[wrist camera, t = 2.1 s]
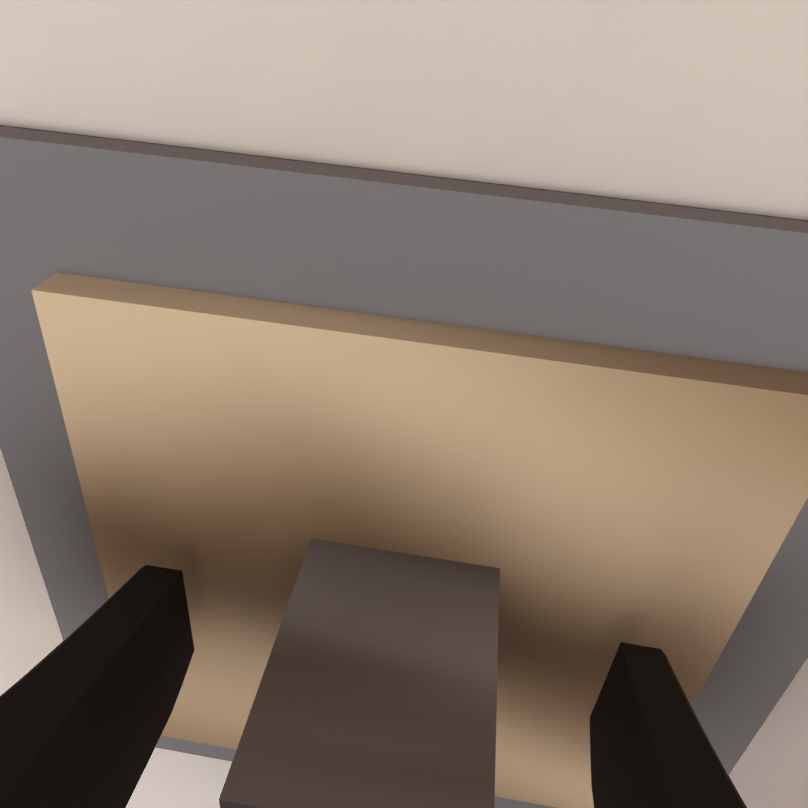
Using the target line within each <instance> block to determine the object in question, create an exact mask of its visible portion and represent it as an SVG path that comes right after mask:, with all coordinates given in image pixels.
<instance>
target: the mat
mask: <svg viewBox="0 0 808 808" xmlns="http://www.w3.org/2000/svg"><path fill="white" fill-rule="evenodd" d="M57 272H58V273H65V274H73V275H80V276H88V277H95V278H103V279H110V280H118V281H125V282H133V283H140V284H148V285H155V286H163V287H170V288H178V289H185V290H193V291H200V292H208V293H215V294H223V295H230V296H238V297H245V298H253V299H260V300H268V301H275V302H283V303H290V304H298V305H305V306H313V307H320V308H328V309H335V310H343V311H350V312H358V313H365V314H373V315H380V316H388V317H395V318H403V319H410V320H418V321H425V322H433V323H440V324H448V325H455V326H463V327H470V328H478V329H485V330H493V331H500V332H508V333H515V334H523V335H531V336H538V337H546V338H553V339H561V340H568V341H576V342H583V343H591V344H598V345H606V346H613V347H621V348H628V349H636V350H643V351H651V352H658V353H666V354H673V355H681V356H688V357H696V358H703V359H711V360H718V361H726V362H733V363H741V364H748V365H756V366H763V367H771V368H778V369H786V370H793V371H801V372H808V221H802V220H794V219H785V218H777V217H768V216H760V215H751V214H743V213H734V212H726V211H717V210H709V209H700V208H692V207H684V206H675V205H667V204H658V203H650V202H641V201H633V200H624V199H616V198H607V197H599V196H590V195H582V194H573V193H565V192H557V191H548V190H540V189H531V188H523V187H514V186H506V185H497V184H489V183H480V182H472V181H463V180H455V179H446V178H438V177H429V176H421V175H413V174H404V173H396V172H387V171H379V170H370V169H362V168H353V167H345V166H336V165H328V164H319V163H311V162H302V161H294V160H286V159H277V158H269V157H260V156H252V155H243V154H235V153H226V152H218V151H209V150H201V149H192V148H184V147H175V146H167V145H159V144H150V143H142V142H133V141H125V140H116V139H108V138H99V137H91V136H82V135H74V134H65V133H57V132H48V131H40V130H31V129H23V128H15V127H6V126H0V447H1V450H2V453H3V457H4V460H5V463H6V466H7V469H8V472H9V475H10V478H11V481H12V484H13V487H14V490H15V493H16V496H17V499H18V502H19V506H20V509H21V512H22V515H23V518H24V521H25V524H26V527H27V530H28V533H29V536H30V539H31V542H32V545H33V548H34V551H35V555H36V558H37V561H38V564H39V567H40V570H41V573H42V576H43V579H44V582H45V585H46V588H47V591H48V594H49V597H50V600H51V604H52V607H53V610H54V613H55V616H56V619H57V622H58V625H59V628H60V631H61V634H62V637H63V640H65V639H66V638H67V637H69V636H70V635H71V634H72V633H73V632H74V631H75V630H76V629H77V628H78V627H79V626H80V625H81V624H83V623H84V622H85V621H86V620H87V619H88V618H89V617H90V616H91V615H92V614H93V613H94V612H95V611H96V610H98V609H99V608H100V607H101V606H102V605H103V604H104V603H105V602H106V601H107V600H108V599H109V596H108V592H107V588H106V584H105V580H104V577H103V573H102V569H101V565H100V561H99V557H98V553H97V549H96V545H95V541H94V537H93V533H92V529H91V525H90V521H89V517H88V513H87V509H86V505H85V501H84V497H83V493H82V489H81V485H80V481H79V477H78V473H77V470H76V466H75V462H74V458H73V454H72V450H71V446H70V442H69V438H68V434H67V430H66V426H65V422H64V418H63V414H62V410H61V406H60V402H59V398H58V394H57V390H56V386H55V382H54V378H53V374H52V370H51V366H50V362H49V359H48V355H47V351H46V347H45V343H44V339H43V335H42V331H41V327H40V323H39V319H38V315H37V311H36V307H35V303H34V299H33V295H32V291H31V290H32V289H33V288H35V287H36V286H38V285H39V284H41V283H42V282H44V281H45V280H47V279H48V278H50V277H51V276H52V275H54V274H55V273H57ZM807 658H808V498H807V500H806V501H805V503H804V505H803V507H802V509H801V510H800V512H799V514H798V516H797V518H796V519H795V521H794V523H793V525H792V527H791V528H790V530H789V532H788V534H787V536H786V538H785V539H784V541H783V543H782V545H781V547H780V548H779V550H778V552H777V554H776V556H775V557H774V559H773V561H772V563H771V565H770V566H769V568H768V570H767V572H766V574H765V575H764V577H763V579H762V581H761V583H760V584H759V586H758V588H757V590H756V592H755V593H754V595H753V597H752V599H751V601H750V602H749V604H748V606H747V608H746V610H745V611H744V613H743V615H742V617H741V619H740V620H739V622H738V624H737V626H736V628H735V629H734V631H733V633H732V635H731V637H730V638H729V640H728V642H727V644H726V646H725V648H724V649H723V651H722V653H721V655H720V657H719V658H718V660H717V662H716V664H715V666H714V667H713V669H712V671H711V673H710V675H709V676H708V678H707V680H706V682H705V684H704V685H703V687H702V689H701V691H700V693H699V694H698V696H697V698H696V700H695V702H694V703H693V705H692V709H693V711H694V713H695V715H696V717H697V718H698V720H699V722H700V724H701V726H702V728H703V730H704V732H705V734H706V735H707V737H708V739H709V741H710V743H711V745H712V747H713V749H714V750H715V752H716V754H717V756H718V758H719V760H720V761H721V763H722V765H723V767H724V769H725V770H726V772H727V774H728V775H729V773H730V772H731V770H732V769H733V767H734V766H735V764H736V763H737V761H738V760H739V758H740V757H741V755H742V754H743V752H744V751H745V749H746V748H747V746H748V745H749V744H750V742H751V741H752V739H753V738H754V736H755V735H756V733H757V732H758V730H759V729H760V727H761V726H762V724H763V723H764V721H765V720H766V718H767V717H768V715H769V714H770V712H771V711H772V709H773V708H774V706H775V705H776V703H777V702H778V701H779V699H780V698H781V696H782V695H783V693H784V692H785V690H786V689H787V687H788V686H789V684H790V683H791V681H792V680H793V678H794V677H795V675H796V674H797V672H798V671H799V669H800V668H801V666H802V665H803V663H804V662H805V661H806V659H807ZM155 747H157V748H162V749H168V750H173V751H178V752H184V753H189V754H195V755H200V756H206V757H211V758H217V759H222V760H228V761H233V759H234V756H235V753H236V750H237V749H231V748H226V747H220V746H215V745H209V744H204V743H198V742H193V741H187V740H182V739H176V738H171V737H165V736H160V738H159V740H158V742H157V744H156V746H155ZM494 808H557V807H551V806H546V805H540V804H534V803H529V802H523V801H518V800H512V799H507V798H501V797H496V796H495V803H494Z"/></svg>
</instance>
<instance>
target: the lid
mask: <svg viewBox="0 0 808 808" xmlns="http://www.w3.org/2000/svg"><path fill="white" fill-rule="evenodd" d="M31 291H32V295H33V299H34V303H35V307H36V311H37V315H38V319H39V323H40V327H41V331H42V335H43V339H44V343H45V347H46V351H47V355H48V359H49V362H50V366H51V370H52V374H53V378H54V382H55V386H56V390H57V394H58V398H59V402H60V406H61V410H62V414H63V418H64V422H65V426H66V430H67V434H68V438H69V442H70V446H71V450H72V454H73V458H74V462H75V466H76V470H77V473H78V477H79V481H80V485H81V489H82V493H83V497H84V501H85V505H86V509H87V513H88V517H89V521H90V525H91V529H92V533H93V537H94V541H95V545H96V549H97V553H98V557H99V561H100V565H101V569H102V573H103V577H104V580H105V584H106V588H107V592H108V596H109V598H110V597H111V596H112V595H113V594H114V593H115V592H116V591H117V590H119V589H120V588H121V587H122V586H123V585H124V584H125V583H126V582H127V581H128V580H129V579H130V578H131V577H132V576H133V575H134V574H135V573H136V572H137V571H138V570H139V569H141V568H142V567H144V566H145V565H151V566H157V567H163V568H169V569H175V570H181V571H182V573H183V579H184V585H185V592H186V598H187V605H188V611H189V618H190V624H191V631H192V637H193V644H194V653H193V655H192V658H191V661H190V664H189V667H188V670H187V673H186V675H185V678H184V681H183V684H182V687H181V689H180V692H179V695H178V697H177V700H176V703H175V705H174V708H173V711H172V713H171V715H170V717H169V719H168V722H167V724H166V726H165V728H164V730H163V732H162V734H161V736H165V737H171V738H176V739H182V740H187V741H193V742H198V743H204V744H209V745H215V746H220V747H226V748H231V749H237V750H236V753H235V756H234V759H233V762H232V764H231V767H230V770H229V773H228V776H227V779H226V782H225V784H224V787H223V790H222V793H221V796H220V799H219V802H220V808H494V803H495V796H496V797H501V798H507V799H512V800H518V801H523V802H529V803H534V804H540V805H546V806H551V807H557V808H594V803H593V795H592V785H591V759H590V715H591V713H592V711H593V708H594V706H595V703H596V701H597V699H598V696H599V694H600V691H601V689H602V686H603V684H604V682H605V679H606V677H607V674H608V672H609V669H610V667H611V665H612V662H613V660H614V657H615V655H616V653H617V650H618V648H619V645H620V643H621V642H622V643H628V644H634V645H640V646H647V647H653V648H659V649H661V650H662V651H663V652H664V653H665V655H666V656H667V659H668V661H669V663H670V665H671V667H672V669H673V671H674V673H675V675H676V677H677V679H678V681H679V683H680V685H681V687H682V689H683V691H684V693H685V695H686V697H687V699H688V701H689V703H690V705H691V707H692V705H693V703H694V702H695V700H696V698H697V696H698V694H699V693H700V691H701V689H702V687H703V685H704V684H705V682H706V680H707V678H708V676H709V675H710V673H711V671H712V669H713V667H714V666H715V664H716V662H717V660H718V658H719V657H720V655H721V653H722V651H723V649H724V648H725V646H726V644H727V642H728V640H729V638H730V637H731V635H732V633H733V631H734V629H735V628H736V626H737V624H738V622H739V620H740V619H741V617H742V615H743V613H744V611H745V610H746V608H747V606H748V604H749V602H750V601H751V599H752V597H753V595H754V593H755V592H756V590H757V588H758V586H759V584H760V583H761V581H762V579H763V577H764V575H765V574H766V572H767V570H768V568H769V566H770V565H771V563H772V561H773V559H774V557H775V556H776V554H777V552H778V550H779V548H780V547H781V545H782V543H783V541H784V539H785V538H786V536H787V534H788V532H789V530H790V528H791V527H792V525H793V523H794V521H795V519H796V518H797V516H798V514H799V512H800V510H801V509H802V507H803V505H804V503H805V501H806V500H807V498H808V372H801V371H793V370H786V369H778V368H771V367H763V366H756V365H748V364H741V363H733V362H726V361H718V360H711V359H703V358H696V357H688V356H681V355H673V354H666V353H658V352H651V351H643V350H636V349H628V348H621V347H613V346H606V345H598V344H591V343H583V342H576V341H568V340H561V339H553V338H546V337H538V336H531V335H523V334H515V333H508V332H500V331H493V330H485V329H478V328H470V327H463V326H455V325H448V324H440V323H433V322H425V321H418V320H410V319H403V318H395V317H388V316H380V315H373V314H365V313H358V312H350V311H343V310H335V309H328V308H320V307H313V306H305V305H298V304H290V303H283V302H275V301H268V300H260V299H253V298H245V297H238V296H230V295H223V294H215V293H208V292H200V291H193V290H185V289H178V288H170V287H163V286H155V285H148V284H140V283H133V282H125V281H118V280H110V279H103V278H95V277H88V276H80V275H73V274H65V273H58V272H57V273H55V274H54V275H52V276H51V277H50V278H48V279H47V280H45V281H44V282H42V283H41V284H39V285H38V286H36V287H35V288H33V289H32V290H31Z"/></svg>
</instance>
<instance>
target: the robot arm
mask: <svg viewBox="0 0 808 808" xmlns="http://www.w3.org/2000/svg"><path fill="white" fill-rule="evenodd" d="M193 653H194V644H193V637H192V631H191V624H190V618H189V611H188V605H187V598H186V592H185V585H184V579H183V573H182V571H181V570H175V569H169V568H163V567H157V566H151V565H145V566H144V567H142V568H141V569H139V570H138V571H137V572H136V573H135V574H134V575H133V576H132V577H131V578H130V579H129V580H128V581H127V582H126V583H125V584H124V585H123V586H122V587H121V588H120V589H119V590H117V591H116V592H115V593H114V594H113V595H112V596H111V597H110V598H109V599H108V600H107V601H106V602H105V603H104V604H103V605H102V606H101V607H100V608H99V609H98V610H96V611H95V612H94V613H93V614H92V615H91V616H90V617H89V618H88V619H87V620H86V621H85V622H84V623H83V624H81V625H80V626H79V627H78V628H77V629H76V630H75V631H74V632H73V633H72V634H71V635H70V636H69V637H67V638H66V639H65V640H64V641H63V642H62V643H61V644H60V645H58V646H57V647H56V648H55V649H54V650H53V651H52V652H51V653H50V654H48V655H47V656H46V657H45V658H44V659H43V660H42V661H41V662H39V663H38V664H37V665H36V666H35V667H34V668H33V669H32V670H30V671H29V672H28V673H27V674H26V675H25V676H24V677H23V678H21V679H20V680H19V681H18V682H17V683H16V684H14V685H13V686H12V687H11V688H10V689H8V690H7V691H6V692H5V693H4V694H2V695H1V696H0V808H125V807H126V805H127V803H128V801H129V799H130V797H131V795H132V793H133V791H134V789H135V787H136V785H137V783H138V781H139V779H140V777H141V775H142V773H143V771H144V769H145V767H146V765H147V763H148V761H149V759H150V757H151V755H152V752H153V750H154V748H155V746H156V744H157V742H158V740H159V738H160V736H161V734H162V732H163V730H164V728H165V726H166V724H167V722H168V719H169V717H170V715H171V713H172V711H173V708H174V705H175V703H176V700H177V697H178V695H179V692H180V689H181V687H182V684H183V681H184V678H185V675H186V673H187V670H188V667H189V664H190V661H191V658H192V655H193ZM590 759H591V785H592V795H593V803H594V808H747V807H746V805H745V804H744V802H743V800H742V798H741V797H740V795H739V793H738V791H737V790H736V788H735V786H734V784H733V783H732V781H731V779H730V777H729V776H728V774H727V772H726V770H725V769H724V767H723V765H722V763H721V761H720V760H719V758H718V756H717V754H716V752H715V750H714V749H713V747H712V745H711V743H710V741H709V739H708V737H707V735H706V734H705V732H704V730H703V728H702V726H701V724H700V722H699V720H698V718H697V717H696V715H695V713H694V711H693V709H692V707H691V705H690V703H689V701H688V699H687V697H686V695H685V693H684V691H683V689H682V687H681V685H680V683H679V681H678V679H677V677H676V675H675V673H674V671H673V669H672V667H671V665H670V663H669V661H668V659H667V656H666V655H665V653H664V652H663V651H662V650H661V649H659V648H653V647H647V646H640V645H634V644H628V643H622V642H621V643H620V645H619V648H618V650H617V653H616V655H615V657H614V660H613V662H612V665H611V667H610V669H609V672H608V674H607V677H606V679H605V682H604V684H603V686H602V689H601V691H600V694H599V696H598V699H597V701H596V703H595V706H594V708H593V711H592V713H591V715H590Z"/></svg>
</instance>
